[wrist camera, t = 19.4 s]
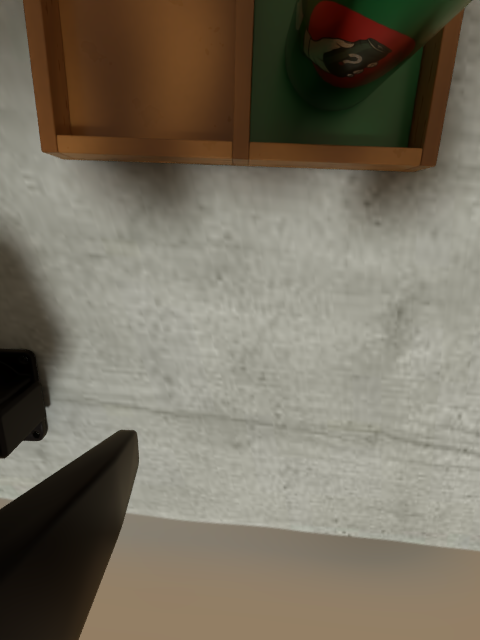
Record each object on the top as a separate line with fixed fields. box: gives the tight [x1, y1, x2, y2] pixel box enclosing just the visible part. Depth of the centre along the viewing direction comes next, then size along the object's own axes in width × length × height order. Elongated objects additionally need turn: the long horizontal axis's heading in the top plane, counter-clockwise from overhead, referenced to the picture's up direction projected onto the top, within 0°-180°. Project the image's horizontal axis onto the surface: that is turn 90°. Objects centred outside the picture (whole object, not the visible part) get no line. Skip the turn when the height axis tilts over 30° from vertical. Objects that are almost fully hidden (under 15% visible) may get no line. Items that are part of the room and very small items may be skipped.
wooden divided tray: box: [23, 0, 464, 172], centre depth 16 cm, size 19×10×2 cm, turn 88°
